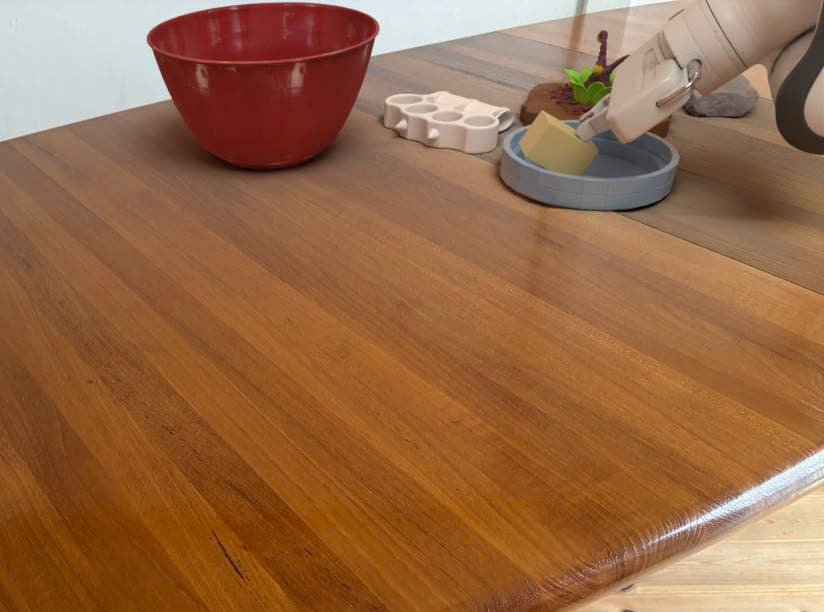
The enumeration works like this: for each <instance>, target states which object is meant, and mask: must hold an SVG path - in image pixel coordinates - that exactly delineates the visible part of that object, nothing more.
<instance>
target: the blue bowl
mask: <svg viewBox="0 0 824 612" xmlns="http://www.w3.org/2000/svg"><path fill="white" fill-rule="evenodd" d="M561 121H562V122H563V123H565V124H567V125H568V126H570V127H572V128H574V129H575V130H577V127H578V125H579V124H578V123H579V120H561ZM531 125H532V124H531ZM531 125H528V126H521V127H519V128H517V129H515V130H513V131H511V132H509V133H508V134H507V136H506V137H505V138H504V140H503V143H502V150H501V157H500V162H499V163H500V165H499V176H500V177H501V179H502V181H503V182H504V183H505V185H507V186H508V187H510V188H511V189H512V190H513V191H515V192H517V193H519V194H521V195H522V196H524V197H526V198H528V199H530V200H533V201H536V202H538V203H541V204H544V205H547V206H552V207H556V208H561V209H567V210H572V211H585V212H587V211H589V212H619V211H626V210H633V209H636V208H640V207H645V206H649V205H651V204H653V203H656V202H658V201H660V200H661V201H662V200H663V198H665V197H666V196H667V195H668V194H670V192H671V190H672V187H673V183H674V180H675V177H676V173H677V170H678V166H679V162H680V158H681V155H680V154H679V151H678V149H677V147H675V145H673V144H672V143H671V142H670V141H668V140H667V139H665V138H664V137H659V136H657V135H655V134H653V133H650V132H646V133H644V134H643V135H641V136H640V137H638V138H637V139H635V140H633V141H631V142H628V143H625V144H623V143H621V142H620V141H619V140H618V138H617V137H616V135H615V134H614V133H613V131H612V130H611V129H609V130H607V131H604V132H602V133H599V134H596V135H595V136H593V137H592V138H590V139H591V141H592V142H593V144H594V145H595V146H596V148H597V149H598V150H599V152H598V154H597V155H596V156H595V158H594V159H593V160H592V161H591V163H590V164H589V165H588V167H587V168H586V169H585V170H584V172H583V173H582V174H581V176H574V175H567V174H561V173H557V172H553V171H549V170H547V169H546V168H544V167H542V166H540V165H538V164H537V163H535V162H533V161H531V160H530V159H528V158H526V157H525V155H524V153H523V151H522V149H521V148H520V146H519V144H518V143H519V142H520V140H521V139H522V137H523V136H524V135H525V133H526V132H527V130H528V129H529V127H530V126H531Z"/></svg>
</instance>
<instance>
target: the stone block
mask: <svg viewBox="0 0 824 612" xmlns="http://www.w3.org/2000/svg"><path fill="white" fill-rule="evenodd" d="M758 92H759V91H758V90H756V88H754V87H753V86H752V83H751V82H750V80H748V79H747V77H745V76H744V75H743V74H742V73H741V74H740V75H738V76H737V77H735V78H734V79H732V80H730V81H729V82H727V83H726V84H724V85H722V86H721V87H719V88H718V89H716V90H715V91H713V92H712V93H710V94H708V95H707V96H702V95H701V94H700V93H699V92H698V91H697V90H696V89H694V90H693V91H691V96H690V98H689V100H688V101H687V102H686V103H685V104H684V105H683V107H684V109H685V111H686V112H688V113H689V114H691V116H693V117H700V116H701V117H703V116H704V117H707V118H708V117H709V118H710V117H725V118H726V117H727V118H729V117H730V118H738V117H741V116H743V115H745V113H747V112H749V110H751V109H752V108H753V107H754V106H755V105H756V103H757V101H758V100H759V97H760V94H759V93H758Z"/></svg>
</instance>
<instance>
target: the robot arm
mask: <svg viewBox="0 0 824 612" xmlns="http://www.w3.org/2000/svg"><path fill="white" fill-rule="evenodd" d="M629 55H630V56H629V57H627V58H626V59H625V60H624V61H623V62H622V63H621V64H620V65H618V66H617V67H616V68H615V69H616V70H615V69H614V70H615V73H614V79H613V84H612V89H611V92H610V93H609V94H608V95H606V96H605V97H604V98H603V99H602V100H601V101H599V102H598V103H597V104H596V105H595V106H594V107H593V108H592V109H591V110H590V111H588V112H587V113H586V114H584V115H583V116H581V117H580V119H579V123H578V124H579V125H578V127H577V130H576V133H577V134H578V136H579V137H580V139H581V140H582V141H587V140H589V139H590V138H592V137H593V136H595V135H596V134H599V133H602V132H604V131H607V130H609V129H611V130H612V131H613V133H614V134H615V135H616V137H617V138H618V140H619V141H620V142H621V143H623V144H625V143H628V142H631V141H633V140H635V139H637V138H638V137H640V136H641V135H643V134H644V133H646V132H647V131H649V130H650V129H652V128H653V127H655V126H656V125H658V124H659V123H660V122H662V121H663V120H665V119H666V118H667V117H669V116H670V115H673V114H675V113H676V112H678V110H680V109H681V108H682V107H684V104H685V103H686V102H687V101H688V100H689V98H690V96H691V91H693V90H694V89H696V90H697V91H698V92H699V93H700V94H701V95H702V96H707V95H708V94H710V93H712V92H713V91H715V90H716V89H718V88H719V87H721V86H722V85H724V84H726V83H727V82H729V81H730V80H732V79H734V78H735V77H737V76H738V75H740V74H741V75H742V74H743V73H745V72H746V71H748V70H749V69H751V68H752V67H754V66H757V65H760V66H763V67H764V68H765V70H766V77H767V83H768V87H769V90H770V95H771V99H772V101H773V105H774V113H775V114H774V115H775V124H776V128H777V130H778V132H779V134H780V136H781V138H782V139H783V140H784V141H785V142H786V144H788V145H790V146H791V147H792V148H794V149H795V150H798V151H800V152H804V153H806V154H809V155H810V154H811V155H817V156H824V0H695V1H694V2H693V3H691V4H690V5H688V6H687V7H685V8H682V9H680V10H679V11H677V12H676V13H674V14H673V15H672V16H670V17H669V18H668V19H667V21H666V22H665V23H663V24H662V25H661V30H660V31H658V32H657V33H656V34H654V35H653V36H652V37H650V38H649V39H648V40H647V41H646V42H644V43H643V44H642V45H641V46H640V47H638V48H637V49H636V50H634V51H633V52H632V53H631V54H629Z"/></svg>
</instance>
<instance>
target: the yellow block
mask: <svg viewBox="0 0 824 612" xmlns="http://www.w3.org/2000/svg"><path fill="white" fill-rule="evenodd" d="M518 144H519V146H520V148H521V149H522V151H523V153H524V155H525V157H526V158H528V159H530V160H531V161H533V162H535V163H537V164H538V165H540V166H542V167H544V168H546V169H547V170H549V171H553V172H557V173H561V174H567V175H574V176H581V174H582V173H583V172H584V170H585V169H586V168H587V167H588V165H589V164H590V163H591V161H592V160H593V159H594V158H595V156H596V155H597V154H598V152H599V150H598V149H597V148H596V146H595V145H594V144H593V142H592V141H591V139H589V140H587V141H582V140H581V139H580V137H579V136H578V134H577V133H576V130H575V129H574V128H572V127H570V126H568V125H567V124H565V123H563V122H562V121H560V120H558V119H557V118H555V117H553V116H551V115H550V114H548V113H546V112H545V111H543V110H541V112H540V113H539V115H538V116H537V118H536V119H535V120H534V122H533V123H532V125H531V126H530V127H529V129H528V130H527V132H526V133H525V135H524V136H523V137H522V139H521V140H520V142H519V143H518Z"/></svg>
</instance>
